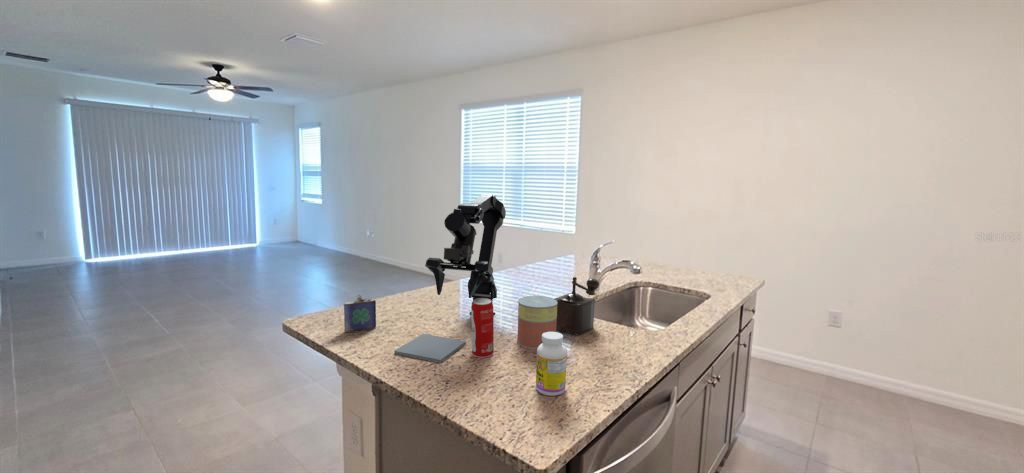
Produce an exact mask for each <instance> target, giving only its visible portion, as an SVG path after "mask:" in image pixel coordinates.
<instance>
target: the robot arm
mask: <svg viewBox="0 0 1024 473" xmlns="http://www.w3.org/2000/svg"><path fill="white" fill-rule="evenodd" d="M504 219H506V208H505V206H504V203H502V202H501V201H500V200H498V198H497V196H496V195H494V194H489V193H487V194H486V193H485V194H484V193H482V194H480V195H479V196H478V198H475V199H474V200H473V201H472V202H469V203H468V202H467V203H466V202H465V203H463V202H462V203H459V204H458V206H457V207H456V208H454V209H453V211H452V212H451V213H449V214H448V215H447V216H446V218H445V219H444V222H443V223H444V227H445V228H446V230H447V231H448V232H449V233H450V234H451V235H452V237H453V238H454V241H453V243H451V246H450V247H444V249H443V259H441V258H440V257H428V258H427V259H426V261H425V265H424V267H425V268H427V269H428V270H429V271H430V272H431V273H433V276H434V279H435V284H436V286H435V287H436V293H437V295H438V296H440V295H441V294H442V290H443V286H444V280H445V278H446V277H445V276H446V273H444V272H445V271H446V270H454V271H455V270H456V271H463V272H464V271H467V272H470V276H469V277H470V278H469V279H468V282H467V291H468V298H469V299H472V301H473V300H474V299H477V298H488V299H491V300H492V303H493V300H494V299H497V298H498V297H497V296H498V288H497V286H496V284H495V277H494V275H493V274H494V273H493V272H494V268H493V266H492V263H493V257H494V251H495V245H496V238H497V233H498V232H497V231H498V230H499V229H500V228H501V227H502V226H503V223H504ZM480 223H482V225H483V231H482V237H481V242H480V248H479V254H478V255H479V256H478V260H476V261H475V262H474V263H473V264H472V263H471V262H472V255H474V252H475V251H474V244H475V239H476V235H477V230H476V229H475V226H474V225H472V224H475V225H477V224H480ZM444 260H446V261H448V262H445V261H444ZM469 314H470V315H471V311H469ZM494 315H496V312H494V311H493V316H494Z"/></svg>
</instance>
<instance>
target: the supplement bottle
mask: <svg viewBox="0 0 1024 473" xmlns="http://www.w3.org/2000/svg"><path fill="white" fill-rule="evenodd" d="M563 341H564V335H563V334H562V332H561V333H560V332H559V331H556V332H545V333H543V334H542V342H543V343H542V344H540V345H539V347H538V349H536V370H535V388H536V391H537V392H538V393H540V394H542V395H544V396H549V397H550V396H551V397H552V396H553V397H555V396H560V395H562V394H564V392H565V390H566V385H567V384H566V381H567V380H566V379H567V361H568V358H567V357H568V350H567V348H566V347H565V345H563Z"/></svg>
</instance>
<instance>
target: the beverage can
mask: <svg viewBox="0 0 1024 473" xmlns="http://www.w3.org/2000/svg"><path fill="white" fill-rule="evenodd" d="M470 306H471V307H470V308H471V311H470V312H471V314H470V315H471V316H470V317H471V352H472V355H473V356H474V357H476V358H481V359H485V358H488V357H491V356H493V354H494V352H495V351H494V348H495V347H494V345H495V344H494V341H495V340H494V338H495V336H494V315H493V312H494V304H493V302H492V300H491V299H488V298H477V299H474V300H473V299H472V302H471V305H470Z"/></svg>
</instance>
